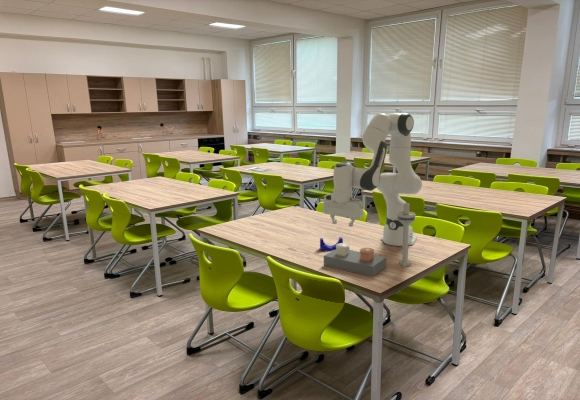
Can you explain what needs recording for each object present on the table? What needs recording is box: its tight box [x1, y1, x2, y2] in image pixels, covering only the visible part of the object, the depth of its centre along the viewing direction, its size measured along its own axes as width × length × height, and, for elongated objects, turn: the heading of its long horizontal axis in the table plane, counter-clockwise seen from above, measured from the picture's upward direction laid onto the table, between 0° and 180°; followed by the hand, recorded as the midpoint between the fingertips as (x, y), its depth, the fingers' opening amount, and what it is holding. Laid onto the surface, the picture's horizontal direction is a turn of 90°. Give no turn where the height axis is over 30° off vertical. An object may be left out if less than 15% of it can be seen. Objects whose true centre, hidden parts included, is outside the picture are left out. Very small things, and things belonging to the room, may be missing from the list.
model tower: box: [397, 202, 416, 268], centre depth 195 cm, size 8×8×30 cm
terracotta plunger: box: [359, 247, 375, 262], centre depth 192 cm, size 6×6×6 cm
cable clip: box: [319, 236, 344, 252], centre depth 222 cm, size 12×4×6 cm, turn 93°
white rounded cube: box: [335, 242, 350, 257], centre depth 200 cm, size 6×6×6 cm
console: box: [323, 249, 387, 278], centre depth 197 cm, size 14×26×5 cm, turn 53°
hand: (342, 225), depth 197 cm, fingers open, 8 cm apart
